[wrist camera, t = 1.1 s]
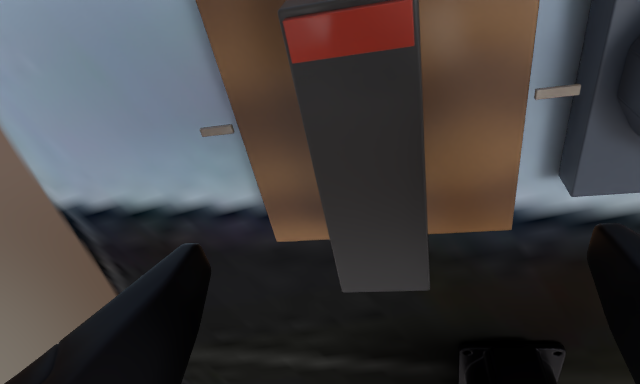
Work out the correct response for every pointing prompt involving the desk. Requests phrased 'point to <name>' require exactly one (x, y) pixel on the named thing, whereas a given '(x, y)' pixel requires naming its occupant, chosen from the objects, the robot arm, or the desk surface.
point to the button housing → (606, 105)
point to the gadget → (364, 134)
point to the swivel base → (438, 110)
